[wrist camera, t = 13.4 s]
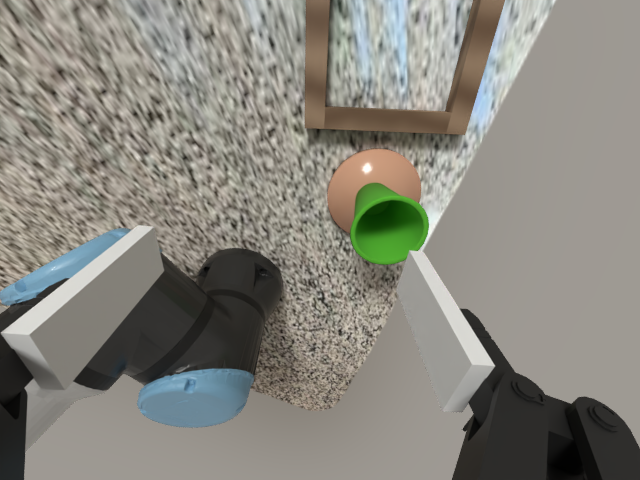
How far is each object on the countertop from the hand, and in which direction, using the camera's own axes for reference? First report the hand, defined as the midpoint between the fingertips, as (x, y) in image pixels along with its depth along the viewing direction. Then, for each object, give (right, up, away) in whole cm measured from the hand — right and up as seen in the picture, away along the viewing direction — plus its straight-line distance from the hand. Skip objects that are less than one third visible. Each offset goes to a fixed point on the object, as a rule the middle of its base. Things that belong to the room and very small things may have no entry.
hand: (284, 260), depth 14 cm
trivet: (+10, +8, +27) cm, 30 cm away
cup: (+10, +7, +26) cm, 29 cm away
